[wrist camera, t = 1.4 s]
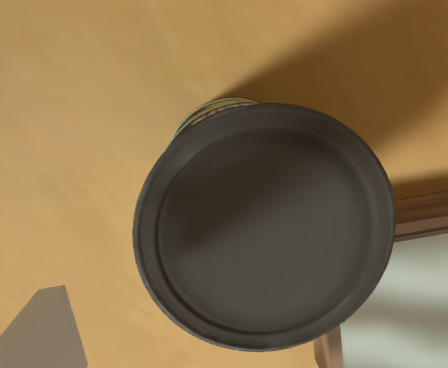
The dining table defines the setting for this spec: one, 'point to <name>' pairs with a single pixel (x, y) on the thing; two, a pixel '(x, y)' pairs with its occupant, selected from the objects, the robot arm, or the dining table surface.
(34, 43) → the dining table surface
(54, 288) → the robot arm
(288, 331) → the coffee can
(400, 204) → the tray
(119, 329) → the dining table surface
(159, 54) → the dining table surface
